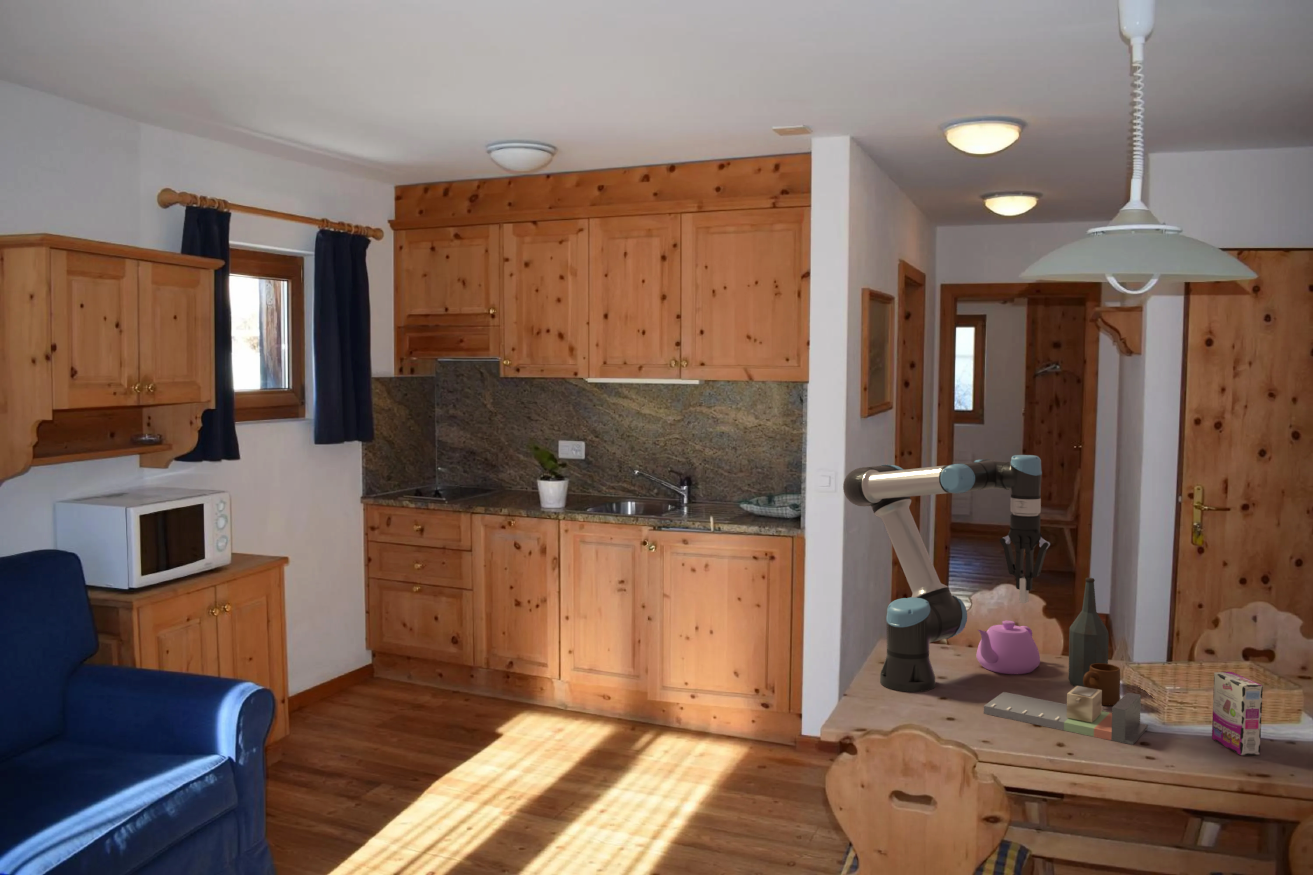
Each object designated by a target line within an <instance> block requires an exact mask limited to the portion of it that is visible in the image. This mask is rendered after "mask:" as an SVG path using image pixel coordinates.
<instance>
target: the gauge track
mask: <svg viewBox="0 0 1313 875" xmlns="http://www.w3.org/2000/svg"><path fill="white" fill-rule="evenodd" d="M983 714H984V715H989V716H994V717H998V718H1003V719H1009V720H1013V721H1018V722H1022V723H1028V724H1032V725H1037V726H1040V727H1041V726H1042V727H1047V728H1051V729H1056V730H1061V731H1064V732H1070V733H1074V734H1075V733H1076V734H1079V735H1085V736H1089V737H1094V738H1099V739H1103V740H1109V741H1112V740H1111V736H1112V712H1109V711H1103V710H1101V715H1099V716H1098V717H1097V718H1096V719H1095V720H1094V721H1093V722H1092V723H1091V722H1086V721H1081V720H1076V719H1071V718H1067V703H1062V702H1057V701H1051V700H1047V699H1042V698H1036V697H1031V696H1026V695H1023V694H1022V695H1021V694H1015V693H1010V692H1006V691H1003V692H1001V693H1000V694H999V695H997V696H996V697H994V698H992V699H991V700H990V701H989V702H987V703H985V704H984V705H983Z"/></svg>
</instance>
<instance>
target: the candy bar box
mask: <svg viewBox="0 0 1313 875" xmlns="http://www.w3.org/2000/svg"><path fill="white" fill-rule="evenodd" d="M1263 688H1264V686H1263V685H1262V684H1260V683H1259V682H1256V681H1253V680H1251V679H1249V678H1247V677H1244V676H1243V675H1240V674H1238V673H1235V672H1233V671H1219V672H1218V671H1217V672H1215V671H1214V672H1213V693H1212V694H1213V697H1212V698H1213V699H1212V720H1211V721H1212V722H1211V724H1212V725H1211V728H1212V729H1211V739H1212V740H1213V741H1215V742H1217V743H1218V744H1220V745H1222V746H1223V747H1225V748H1227V749H1228V750H1231V751H1233V752H1234V753H1236V754H1238V755H1240V756H1260V755H1261V736H1262V734H1261V733H1262V715H1263V714H1262V712H1263V711H1262V710H1263V691H1264V690H1263Z"/></svg>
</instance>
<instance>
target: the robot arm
mask: <svg viewBox="0 0 1313 875" xmlns="http://www.w3.org/2000/svg"><path fill="white" fill-rule="evenodd" d="M1042 475H1043V471H1042V460H1041V458H1040V457H1039V455H1033V454H1014V455H1012V456H1011V460H1010V461H1005V460H1003V461H1002V460H994V459H993V460H991V459H988V458H987V459H975V460H974V461H973V462H968V463H965V462H964V463H953V464H948V465H938V466H928V467H927V466H926V467H919V468H918V467H917V468H910V469H907V468H906V469H904V468H902V467H900V466H898V465H895V464H891V465H890V464H881V465H876V466H875V465H874V466H873V465H872V466H866V467H865V466H863V467H858V468H855V469H853V470H851V471H850V472H849V473H847V475H846V477H845V478H844V481H843V483H842V484H843V486H842V488H843V489H842V490H843V493H844V495H845V498H846V499H847V500H848V501H849V502H850V503H851V504H853V505H854V506H858V507H871V509H872V511H873V514H874V516H876V517H878V518H880V519H881V520H882V522H883V524H884V528H885V530H886V532H887V535H888V537H889V539H890V541H891V543H892V547H893V549H894V552H895V554H896V557H897V559H898V561H899V564H900V566H901V568H902V571H903V573H904V576H905V577H906V578H905V579H906V582H907V583H908V586H909V588H910V590H911V593H912V595H911V597H907V598H906V597H903V598H898V599H895V600H892V601H891V602H890V603H889V604H888V606H887V608H886V612H887V613H886V620H885V621H886V656H885V659H884V662H883V665H882V668H881V670H880V673H879V674H880V675H879V682H880V684H881V685H882V686H883V687H884V688H887V689H891V690H894V691H901V692H910V693H911V692H913V693H916V692H917V693H918V692H925V691H926V692H927V691H930V690H933V689H934V688H935V687H936V675H935V672H934V668H933V666H932V662H931V659H930V643H934V642H938V641H942V640H948V639H951V638H953V637H955V636H958V635H960V633H962V632H963V631H964V629H965V628H966V624H967V622H968V611H967V607H966V605H965V603H964V602H963V600H962V599H961V598H959V597H957V596H956V595H952V593H951V590H950V588H949V586H948V585H945V584H943V583H942V582H941V580H940V578H939V576H938V573H937V570H936V569H935V567H934V564H933V562H932V561H933V560H932V559H931V557H930V554H929V552H928V550H927V547H926V545H925V543H924V541H923V538H922V536H921V534H920V531H919V529H918V526H917V523H916V522H915V519H914V516H913V515H912V512H911V509H910V506H911V503H912V499H911V497H919V496H929V495H930V496H931V495H940V494H941V495H943V494H963V493H967V492H974V491H984V490H990V489H997V490H1006V491H1008V490H1009V491H1010V512H1011V514H1010V515H1009V516H1010V519H1009V525H1010V526H1009V532H1008V534H1007V535H1006V536H1003V537H1002V538H1000V539H999V543H1001V546H1002V547H1003V553H1004V556H1005V560H1006V561H1005V562H1006V567H1007V571H1008V574H1009V575H1012V576H1014V577H1015V588H1016V590H1019V592H1018V594H1019V595H1018V596H1019V600H1018V601H1019V602H1018V603H1019V604H1027V603H1028V602H1029V593H1030V591H1032V590H1033V579H1034V578H1037V577H1039V576H1040V575H1041V572H1042V569H1043V568H1042V567H1043V565H1044V560H1045V557H1046V554H1047V550H1048V549H1049V548H1050V546H1051V541H1049V540H1048V541H1047V540H1045V539H1044V538H1043V535H1042V533H1041V518H1042V517H1041V516H1040V514H1041V512H1042V511H1041V510H1042V506H1041V505H1042V499H1041V498H1042V497H1041V494H1042V492H1041V490H1042V489H1041V488H1042ZM1011 543H1012V544H1013V545H1014V547H1015V551H1014V552H1015V559H1014V554H1013V553H1014V552H1013V548H1012V544H1011ZM1038 544H1039V550H1038V551H1037V552H1038V553H1037V556H1036V560H1035V564H1034V552H1035V548H1036V546H1037V545H1038ZM1024 554H1025V556H1024ZM1024 557H1025V559H1024ZM1024 560H1025V572H1024Z"/></svg>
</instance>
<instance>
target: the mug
mask: <svg viewBox="0 0 1313 875" xmlns="http://www.w3.org/2000/svg"><path fill="white" fill-rule="evenodd" d="M1083 684H1084V687H1087V688H1093V689H1098V690H1102V706H1106V707H1113V706H1114V705H1115V704H1116V703H1117V702H1118V701H1119V700H1120V699H1121V668H1120V667H1119V666H1118V665H1114V664H1111V663H1108V664H1105V663H1095V664H1091V665H1090V669H1089V672H1087V673H1085V675H1084V677H1083Z"/></svg>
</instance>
